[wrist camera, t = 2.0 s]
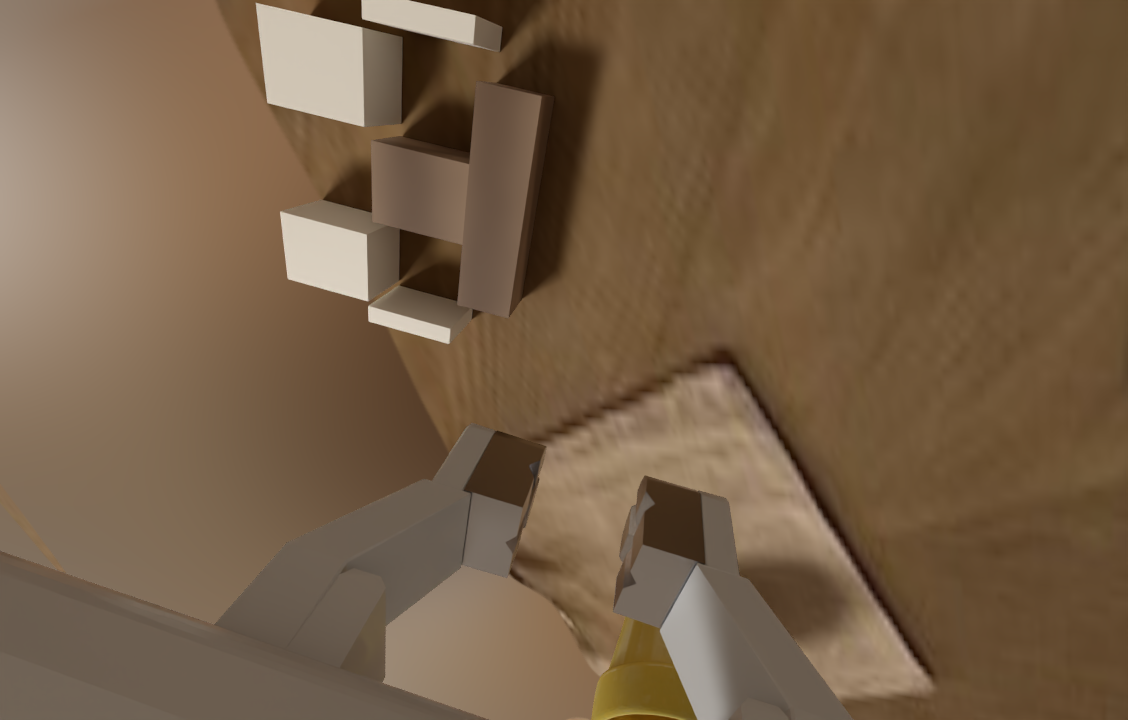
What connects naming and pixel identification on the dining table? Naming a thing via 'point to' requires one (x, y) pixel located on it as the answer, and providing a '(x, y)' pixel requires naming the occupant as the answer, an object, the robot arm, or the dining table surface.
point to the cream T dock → (366, 98)
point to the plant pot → (641, 680)
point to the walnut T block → (473, 192)
